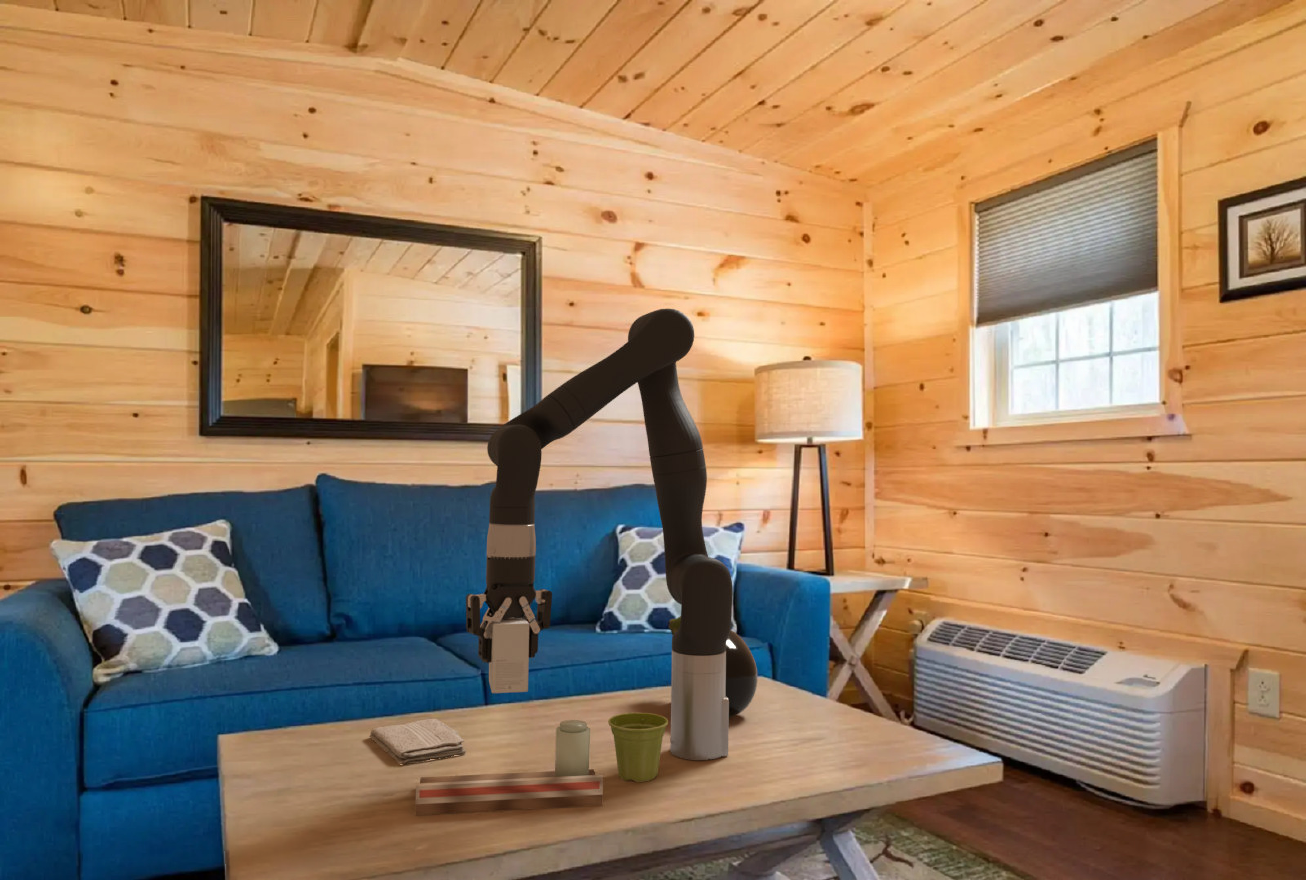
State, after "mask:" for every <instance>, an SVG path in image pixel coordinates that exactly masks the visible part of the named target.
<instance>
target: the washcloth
mask: <svg viewBox="0 0 1306 880" xmlns="http://www.w3.org/2000/svg"><path fill="white" fill-rule="evenodd" d="M458 733H459V732H458V730H456V729H455V730H454V729H453V728H451V727H450V726H448V725H447V724H446V723H443V722H442V721H440V720H439V719H437V718H431V719H430V718H427V719H422V720H421V719H420V720H415V721H413V722H408V723H404V724H392V725H387V726H386V725H385V726H381V727H376V728H375V727H374V728H372V730H371V731H370V735H369V738H370V739H371V740H372V739H373V740H372V741H373V742H376V743H377V744H376V743H375V744H376V745H378V747H380V746H381V747H380V748H381V749H382V751H384V752H386V753H387V752H388V753H387V754H388V755H389V756H390V757H392V758H393V757H394V758H393V760H394V759H395V762H398V763H397V764H398V765H399V764H403V765H405V764H404V763H413V764H418V763H417V762H421V763H424V762H423V761H426V760H430V759H438V760H440V759H439V758H445V759H447V758H446V757H451V756H454V755H461V756H463V755H465V754H466V750H465V749H464V746H463V743H464V742H465V740H464V739H463V738H462V737H461V736H460V735H459V734H458ZM451 758H452V757H451Z"/></svg>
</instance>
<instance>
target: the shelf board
mask: <svg viewBox="0 0 1306 880" xmlns="http://www.w3.org/2000/svg"><path fill="white" fill-rule="evenodd" d="M603 798H604V776H603V774H596V772H595V770H594V769H592V768H591V769H590V768H589V775H584V776H563V777H555V770H552V771H551V770H549V771H547V770H546V771H528V772H507V773H506V772H505V773H504V772H503V773H486V774H467V775H466V774H465V775H464V774H463V775H446V776H444V775H443V776H442V775H441V776H424V777H423V776H422V777H420V779H419V783H418V782H417V783H415V815H414V816H424V815H425V816H426V815H427V816H428V815H445V814H464V813H467V814H468V813H479V812H480V813H481V812H485V813H486V812H497V811H498V812H500V811H501V812H502V811H517V810H518V811H519V810H537V809H538V810H539V809H556V808H557V809H558V808H574V807H575V808H577V807H594V806H595V807H596V806H604V805H603V803H604V801H603V800H604V799H603Z"/></svg>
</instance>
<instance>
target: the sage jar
mask: <svg viewBox="0 0 1306 880" xmlns="http://www.w3.org/2000/svg"><path fill="white" fill-rule="evenodd" d="M590 741H591V728H590V727H589V726H588V723H587V722H586V721H584V720H578V719H567V720H562V721H561V722H559V726H557V727H556V728H555V750H554V751H555V753H554V755H555V756H554V758H555V759H554V771H555V777H563V776H584V775H589V769H590V750H591V749H590V747H591V745H590V743H591V742H590Z"/></svg>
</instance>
